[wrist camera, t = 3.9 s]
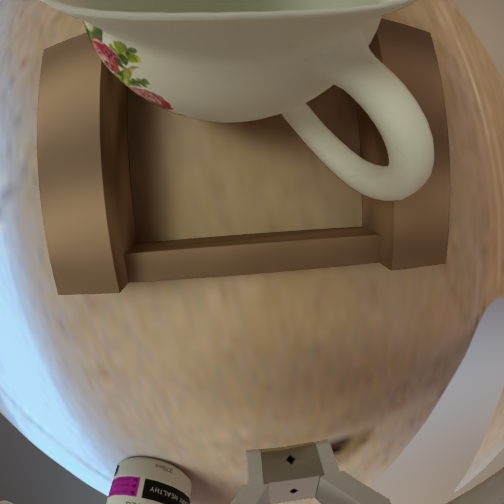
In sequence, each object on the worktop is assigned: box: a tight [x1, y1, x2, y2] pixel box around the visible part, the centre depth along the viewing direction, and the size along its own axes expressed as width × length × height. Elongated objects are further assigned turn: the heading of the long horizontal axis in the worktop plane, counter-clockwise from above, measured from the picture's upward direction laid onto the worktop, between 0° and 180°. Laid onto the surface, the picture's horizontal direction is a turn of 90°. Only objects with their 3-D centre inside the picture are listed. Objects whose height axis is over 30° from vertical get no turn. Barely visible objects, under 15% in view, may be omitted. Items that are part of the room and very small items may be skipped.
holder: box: [37, 19, 450, 295], centre depth 14 cm, size 14×22×4 cm, turn 94°
